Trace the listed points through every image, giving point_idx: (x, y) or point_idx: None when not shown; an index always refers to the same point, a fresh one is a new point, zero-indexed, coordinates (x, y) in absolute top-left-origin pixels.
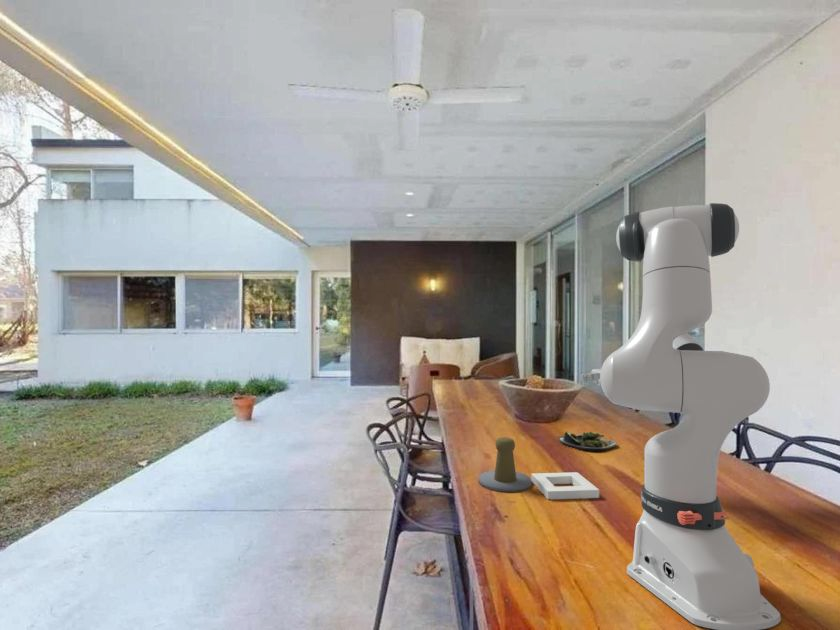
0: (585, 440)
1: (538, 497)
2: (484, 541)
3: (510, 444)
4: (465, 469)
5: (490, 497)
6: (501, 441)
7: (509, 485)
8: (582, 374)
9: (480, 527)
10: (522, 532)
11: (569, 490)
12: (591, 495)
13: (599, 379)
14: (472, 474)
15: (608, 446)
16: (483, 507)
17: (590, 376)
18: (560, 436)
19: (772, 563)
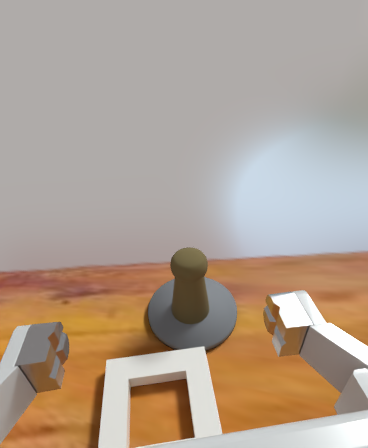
0: None
1: (122, 354)
2: (12, 279)
3: (173, 266)
4: (244, 266)
5: (130, 290)
6: (176, 252)
7: (160, 311)
8: (296, 291)
9: (46, 277)
10: (13, 315)
11: (103, 405)
12: None
13: (28, 325)
14: (223, 274)
15: None
16: (99, 281)
17: (328, 355)
18: None
19: None
